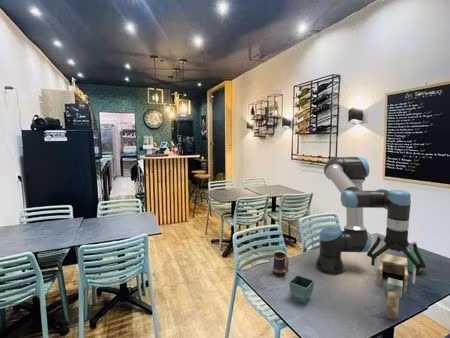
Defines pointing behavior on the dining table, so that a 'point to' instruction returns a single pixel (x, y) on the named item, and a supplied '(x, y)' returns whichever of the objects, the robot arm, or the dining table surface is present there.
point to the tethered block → (393, 297)
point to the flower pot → (301, 288)
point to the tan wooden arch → (394, 267)
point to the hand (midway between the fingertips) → (393, 277)
